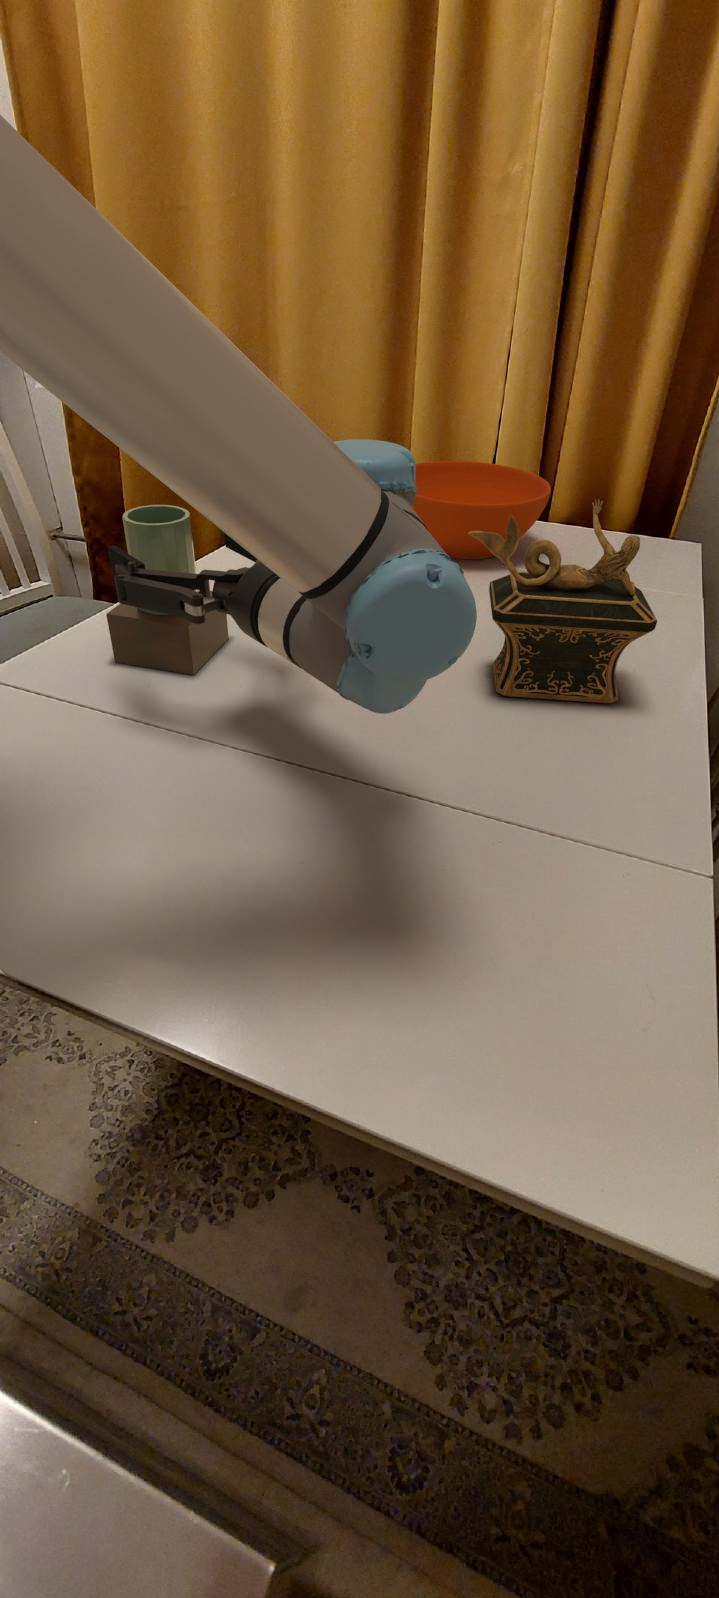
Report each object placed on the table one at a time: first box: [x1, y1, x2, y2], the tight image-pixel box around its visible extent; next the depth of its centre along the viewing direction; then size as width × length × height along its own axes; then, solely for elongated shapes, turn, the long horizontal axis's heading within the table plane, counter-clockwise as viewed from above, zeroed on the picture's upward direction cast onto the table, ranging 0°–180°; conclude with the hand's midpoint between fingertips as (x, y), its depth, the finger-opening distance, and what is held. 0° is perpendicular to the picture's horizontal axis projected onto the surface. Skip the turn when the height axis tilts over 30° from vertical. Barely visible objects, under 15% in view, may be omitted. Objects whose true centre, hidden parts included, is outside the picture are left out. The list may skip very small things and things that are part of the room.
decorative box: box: [468, 498, 658, 704], centre depth 82 cm, size 20×10×20 cm, turn 85°
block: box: [105, 590, 230, 676], centre depth 89 cm, size 10×10×6 cm
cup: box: [121, 504, 197, 615], centre depth 85 cm, size 7×7×10 cm
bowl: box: [414, 460, 552, 560], centre depth 122 cm, size 25×25×10 cm
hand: (172, 545), depth 81 cm, fingers open, 13 cm apart
